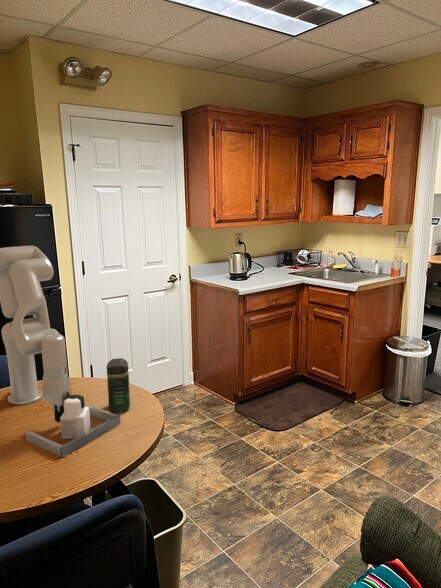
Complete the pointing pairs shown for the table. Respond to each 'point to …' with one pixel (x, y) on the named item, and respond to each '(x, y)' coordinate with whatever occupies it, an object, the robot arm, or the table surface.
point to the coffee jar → (118, 385)
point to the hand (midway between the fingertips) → (60, 420)
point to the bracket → (73, 445)
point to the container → (74, 417)
